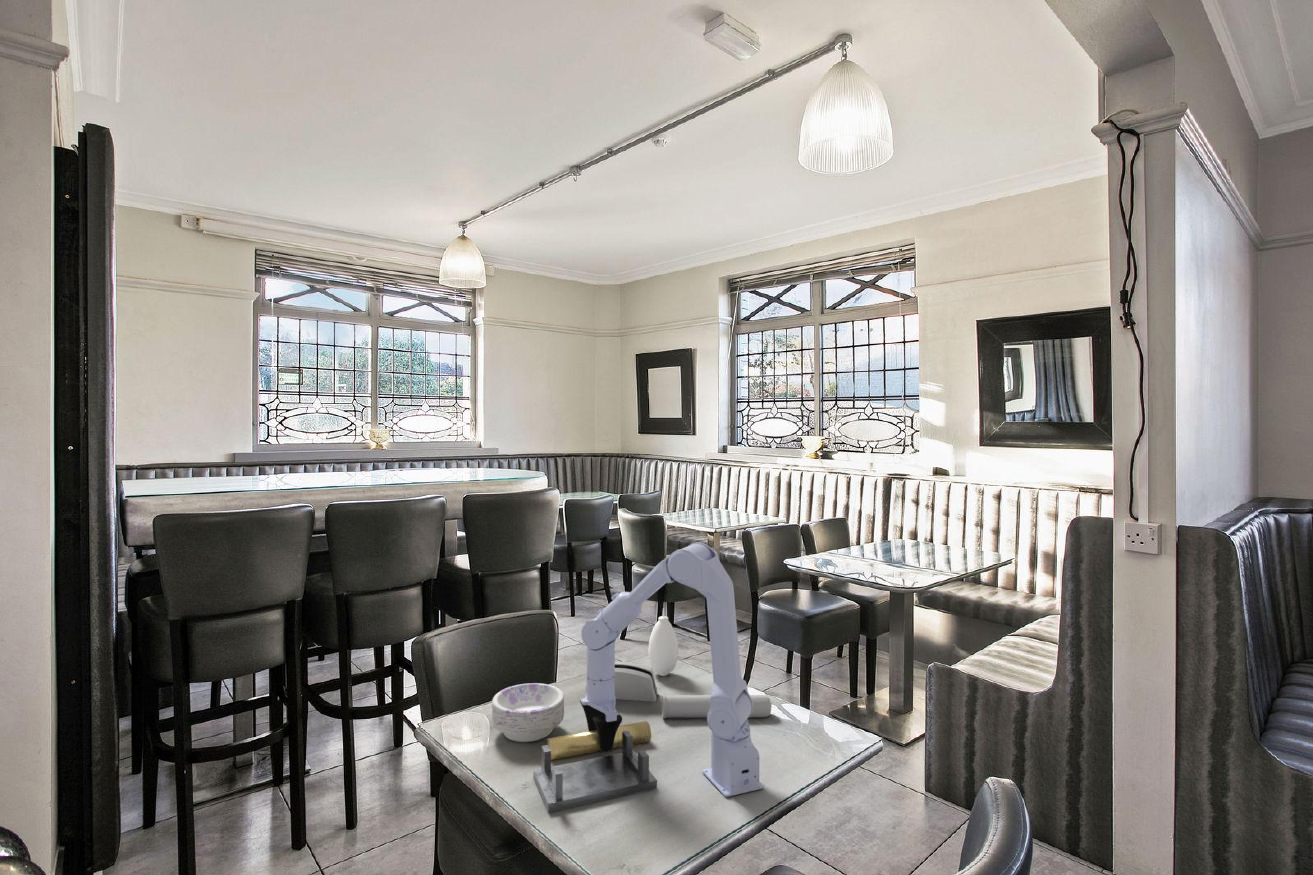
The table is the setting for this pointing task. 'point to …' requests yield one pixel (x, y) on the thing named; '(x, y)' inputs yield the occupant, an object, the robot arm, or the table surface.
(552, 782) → the corner post stand
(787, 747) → the table surface
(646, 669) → the white rounded block
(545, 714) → the paper bowls
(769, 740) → the table surface
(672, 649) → the white air blower bulb
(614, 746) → the brass pin
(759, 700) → the tube
